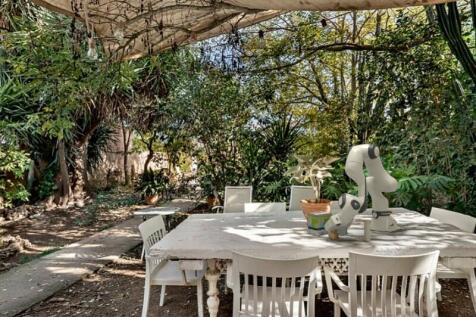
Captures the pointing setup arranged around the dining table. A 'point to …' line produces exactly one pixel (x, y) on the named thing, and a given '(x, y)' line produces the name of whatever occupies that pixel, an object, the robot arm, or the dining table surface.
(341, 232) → the door
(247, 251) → the dining table surface
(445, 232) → the dining table surface
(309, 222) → the tea box
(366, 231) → the jamb
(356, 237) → the threshold
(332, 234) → the doorstop
